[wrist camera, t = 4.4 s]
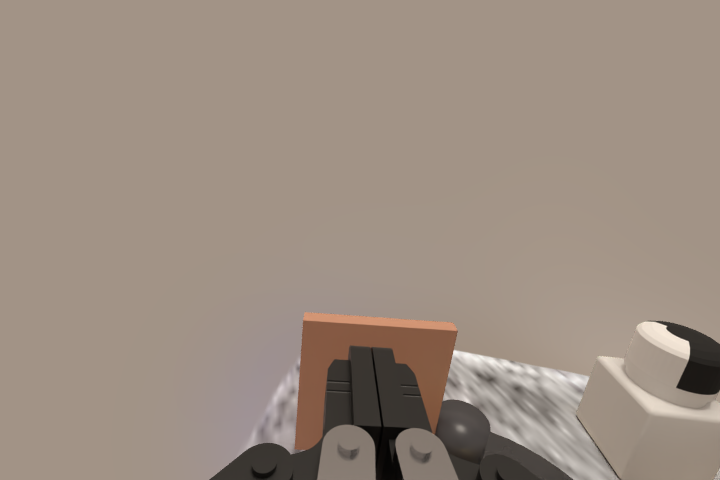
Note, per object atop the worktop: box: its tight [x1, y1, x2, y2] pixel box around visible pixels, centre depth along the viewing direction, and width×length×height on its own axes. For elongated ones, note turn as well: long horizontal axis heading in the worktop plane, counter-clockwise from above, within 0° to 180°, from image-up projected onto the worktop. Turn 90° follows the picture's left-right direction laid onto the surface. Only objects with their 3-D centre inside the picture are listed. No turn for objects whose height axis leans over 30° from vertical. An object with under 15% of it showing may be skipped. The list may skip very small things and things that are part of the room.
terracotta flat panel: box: [295, 313, 490, 465], centre depth 25 cm, size 14×4×11 cm, turn 93°
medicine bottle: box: [576, 321, 720, 480], centre depth 30 cm, size 7×7×12 cm
